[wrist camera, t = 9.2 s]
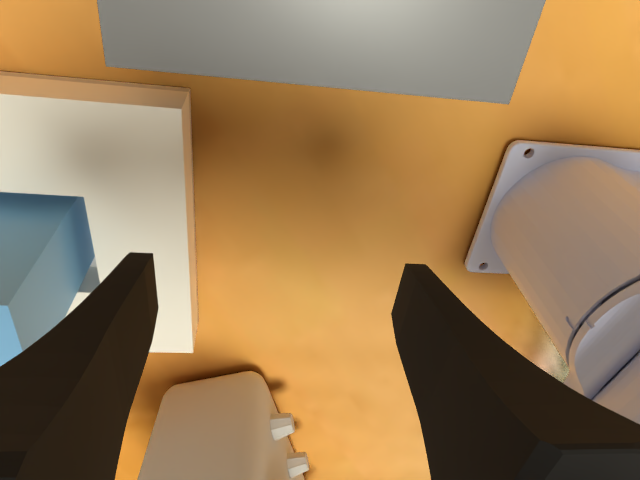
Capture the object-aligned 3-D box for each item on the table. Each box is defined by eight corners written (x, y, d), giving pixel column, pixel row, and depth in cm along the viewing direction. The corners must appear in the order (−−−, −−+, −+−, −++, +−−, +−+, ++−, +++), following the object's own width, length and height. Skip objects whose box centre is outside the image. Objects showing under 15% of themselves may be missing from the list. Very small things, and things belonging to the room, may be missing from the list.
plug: (84, 186, 22) (7, 305, 16) (97, 264, 25) (36, 392, 19) (-10, 180, 22) (-128, 300, 15) (14, 259, 24) (-79, 391, 18)
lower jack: (190, 87, 21) (181, 108, 19) (198, 320, 29) (193, 352, 27) (-178, 55, 19) (-232, 74, 17) (-59, 313, 27) (-86, 348, 25)
